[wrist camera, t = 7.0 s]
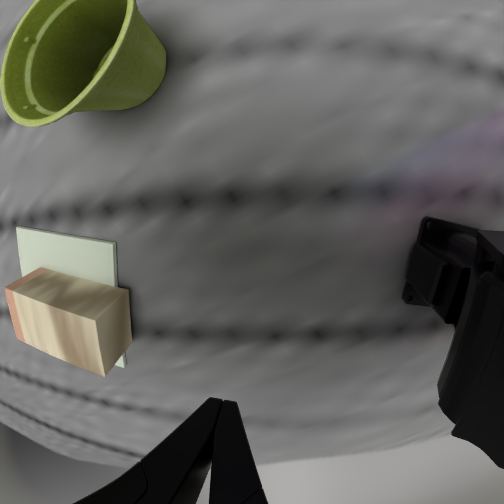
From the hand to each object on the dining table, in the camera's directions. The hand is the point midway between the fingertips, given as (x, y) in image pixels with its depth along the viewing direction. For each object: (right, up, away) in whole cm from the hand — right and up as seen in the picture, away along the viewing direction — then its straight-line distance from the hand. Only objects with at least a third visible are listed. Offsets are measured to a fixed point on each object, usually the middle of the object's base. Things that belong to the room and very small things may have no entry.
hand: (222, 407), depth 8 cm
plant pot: (-8, +18, +9) cm, 22 cm away
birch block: (-9, -1, +12) cm, 15 cm away
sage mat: (-16, +1, +15) cm, 22 cm away
